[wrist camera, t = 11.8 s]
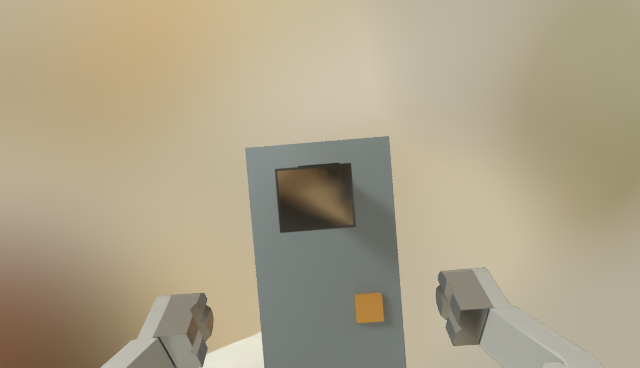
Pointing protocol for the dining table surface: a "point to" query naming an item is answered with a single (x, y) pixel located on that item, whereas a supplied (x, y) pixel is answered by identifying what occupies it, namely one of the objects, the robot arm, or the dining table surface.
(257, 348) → the dining table surface
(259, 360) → the dining table surface
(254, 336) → the dining table surface
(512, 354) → the robot arm
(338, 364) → the cabinet
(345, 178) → the lever
